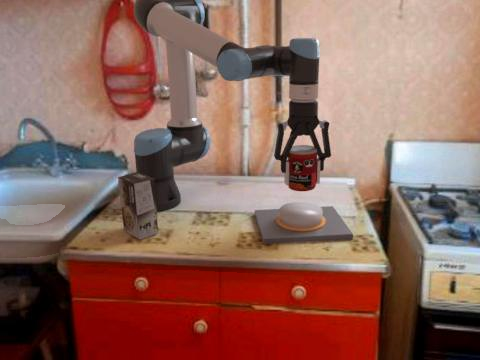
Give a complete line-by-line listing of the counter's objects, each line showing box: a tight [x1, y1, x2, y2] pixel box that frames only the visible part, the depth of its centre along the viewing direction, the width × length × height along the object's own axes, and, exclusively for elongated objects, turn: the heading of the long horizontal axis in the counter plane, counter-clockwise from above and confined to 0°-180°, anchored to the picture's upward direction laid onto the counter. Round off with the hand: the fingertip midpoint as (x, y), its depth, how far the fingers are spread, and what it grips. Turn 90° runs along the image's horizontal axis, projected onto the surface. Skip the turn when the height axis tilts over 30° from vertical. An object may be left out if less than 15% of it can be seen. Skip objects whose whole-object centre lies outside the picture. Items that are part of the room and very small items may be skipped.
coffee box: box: [117, 172, 159, 240], centre depth 133 cm, size 9×6×16 cm
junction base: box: [253, 201, 354, 245], centre depth 136 cm, size 20×24×5 cm
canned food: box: [287, 144, 318, 192], centre depth 131 cm, size 8×8×11 cm
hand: (301, 182), depth 133 cm, fingers closed on canned food, 8 cm apart
